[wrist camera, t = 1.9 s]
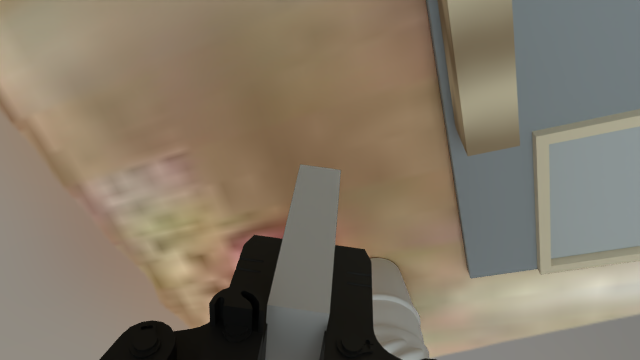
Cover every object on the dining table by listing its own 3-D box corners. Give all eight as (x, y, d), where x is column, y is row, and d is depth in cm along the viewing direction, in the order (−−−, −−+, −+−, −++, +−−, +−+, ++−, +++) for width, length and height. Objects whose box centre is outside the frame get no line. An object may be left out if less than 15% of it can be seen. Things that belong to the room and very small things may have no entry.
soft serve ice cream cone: (336, 305, 42) (324, 492, 29) (326, 241, 38) (307, 427, 24) (422, 303, 41) (452, 498, 28) (423, 237, 37) (459, 431, 23)
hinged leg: (421, -115, 22) (438, -120, 17) (481, -136, 21) (516, -147, 16) (455, 127, 29) (474, 172, 24) (501, 117, 28) (530, 161, 24)
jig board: (405, -129, 23) (409, -131, 21) (867, -293, 18) (917, -313, 17) (467, 268, 38) (472, 285, 36) (729, 230, 34) (748, 247, 32)
